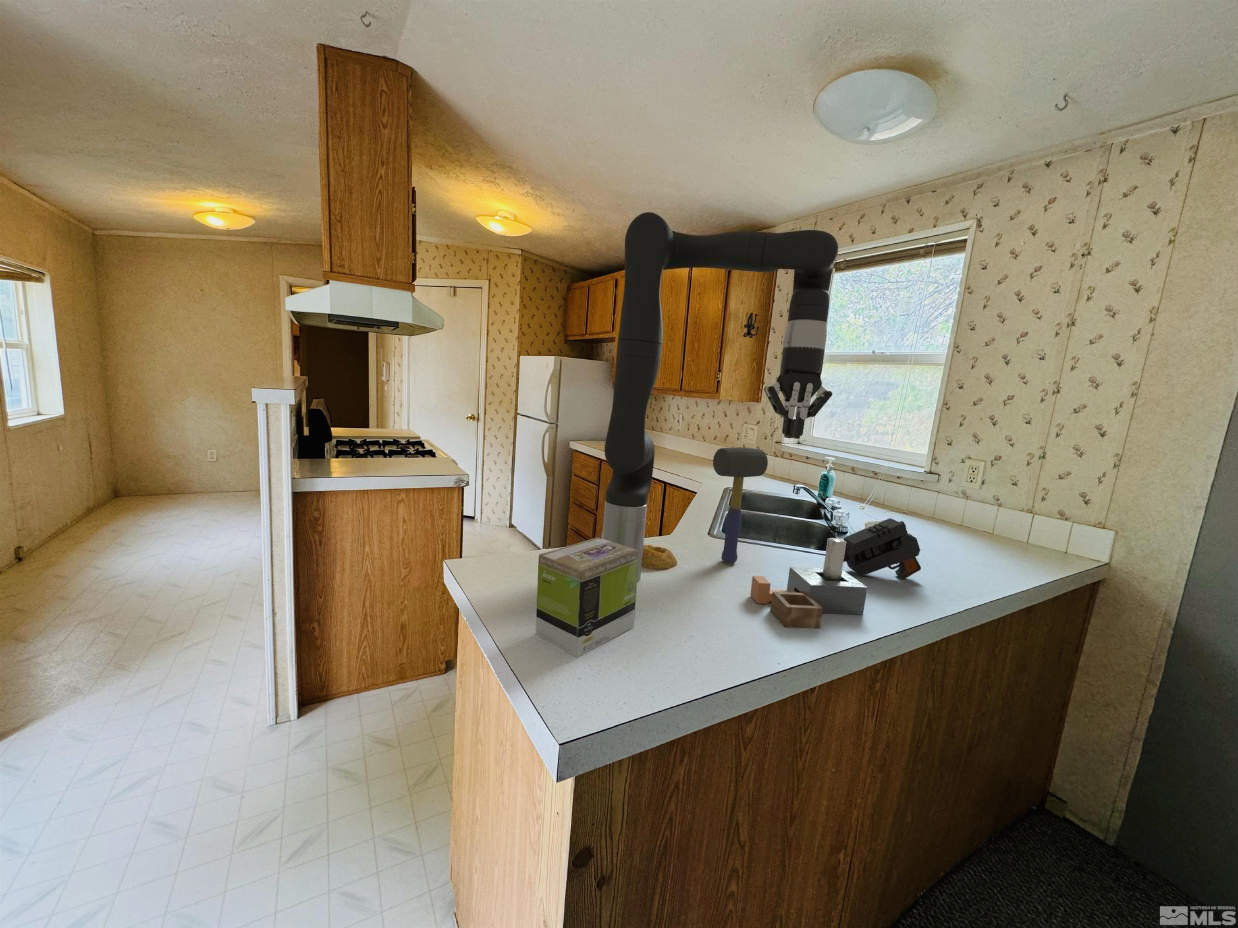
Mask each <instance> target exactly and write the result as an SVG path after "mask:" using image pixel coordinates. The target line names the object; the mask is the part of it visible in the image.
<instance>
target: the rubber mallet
mask: <svg viewBox="0 0 1238 928" xmlns="http://www.w3.org/2000/svg"><path fill="white" fill-rule="evenodd" d="M712 466H713V470H714V471H715V473H716V474H717V475H718V476H720V477H729V478H733V481H732V489H731V497H730V504H729V505H730V506H729V508H728V509H727V513H726V517H725V518H726V519H725V526H724V529H725V530H724V531H725V533H724V535H725V536H724V543H723V551H722V553H721V557H720V558H721V561H722V562H724V564H725V563H726V564H725V565H730V566H734V565H735V564H734V563H736V562H737V561H738V541H739V535H740V532H741V525H742V509H741V507H742V497H743V496H742V495H743V489H744V488H743V487H744V478H755V477H761V476H763V475H764V474H765V473H766V471H767V469H768V466H769V460H768V456H767V454H766V452H765V451H764V450H763V449H760V448H752V447H745V446H743V447H741V446H740V447H721V448H719V449H717V450H716V451H715V453H714V454H713V459H712ZM733 564H734V565H733Z"/></svg>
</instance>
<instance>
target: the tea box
mask: <svg viewBox="0 0 1238 928" xmlns="http://www.w3.org/2000/svg"><path fill="white" fill-rule="evenodd" d="M638 554H639V550H637V549H634V548H630V547H627V546H624V545H620V544H617V543H614V542H611V541H608V540H604V539H601V538H600V536H598V537H594V538H593V537H592V538H590V539H587V540H583V541H579V542H577V543H574V544H570V545H566V546H563V547H560V548H557V549H553V550H550V551H547V552H544V553H543V552H542V553H539V554H538V563H537V564H538V566H537V567H538V569H537V585H536V586H537V587H536V588H537V591H536V592H537V593H536V613H535V615H536V616H535V617H536V618H535V636H537V637H539V638H541V639H543V640H544V641H547V642H548V643H550V644H551V645H553V646H555V647H557V648H558V649H560V650H563V651H564V652H565V653H567V654H570V655H571V656H573V657H574V658H579V657H580V656H582V655H584V654H586V653H588V652H589V651H591V650H593V649H595V648H597V647H599V646H601V645H603V644H605V643H606V642H608V641H610V640H612V639H614V638H616V637H618V636H620V635H621V634H624V633H625V632H627V631H629V630H630V629H632V628H634V627H635V617H636V600H637V584H638V582H637V572H638Z"/></svg>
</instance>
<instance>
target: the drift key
mask: <svg viewBox="0 0 1238 928" xmlns="http://www.w3.org/2000/svg"><path fill="white" fill-rule="evenodd" d="M773 592H792V593H797V592H796V591H787V590H785V589H784V590H783V589H782V590H779V589H777V590H776V589H771V582H770V581H769V580H768V579H767V578H766V577H765V576H763V575H752V578H751V587H750V594H749V595H750V597H751V598H752V600H753V601H754V602H755V603H756V604H765V605H766V604H767V605H768V604H769V603H771V600H772V593H773Z"/></svg>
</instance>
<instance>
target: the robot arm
mask: <svg viewBox="0 0 1238 928" xmlns="http://www.w3.org/2000/svg"><path fill="white" fill-rule="evenodd" d="M624 236H625V238H624V288H623V296H622V303H621V310H620V311H621V312H620V321H619V329H618V334H617V335H618V336H617V343H616V354H615V371H614V380H613V395H612V406H611V407H612V408H611V413H610V419H609V423H608V427H607V432H606V438H605V441H604V442H605V443H604V458H605V461H606V463H607V465H608V466H609V467H610V469H611V470H612V473H611V478H610V481H609V484H608V485H607V487H606V489H605V498H604V513H603V522H602V523H603V524H602V525H603V526H602V530H601V539H604V540H608V541H611V542H614V543H617V544H620V545H624V546H627V547H630V548H634V549H637V550H639V554H638V572H637V583H638V582H640V580H641V576H642V568H643V566H642V556H643V545H645V544H644V543H645V542H644V541H645V533H646V532H645V531H646V521H647V520H646V519H647V509H648V500H649V499H648V498H649V494H650V491H651V488H652V482H653V473H654V464H655V455H656V454H655V453H656V451H655V444H654V443H655V442H654V441H653V439H652V437H651V436H650V434H649V433H647V432H646V419H647V418H646V417H647V410H648V409H647V408H648V406H649V405H648V404H649V400H650V397H651V395H652V392H653V390H654V387H655V384H656V381H657V379H658V375H659V371H660V365H661V361H662V350H663V341H664V329H663V327H664V325H663V314H662V304H661V303H662V302H661V284H662V282H661V281H662V277H663V271H668V270H677V269H678V270H679V269H697V268H698V269H702V268H703V269H720V270H721V269H722V270H733V271H740V272H742V271H743V272H754V273H775V272H776V271H778V270H793V284H792V294H791V298H790V302H789V307H788V316H787V323H786V327H785V331H784V337H783V341H782V353H781V360H780V369H779V371H780V373H779V375H778V377H777V378H776V382H774V383H772V384H771V385H766V386H764V388H763V391H764V393H765V395H766V397H767V399H768V401H769V402H770V403H769V404H770V405H771V407H772V409H773V411H774V413H775V415H780V416H781V417H782V418H783V423H782V430H781V433H782V435H783V437H784V438H785V439H798V440H799V439H800V438H801V437H802V436H803V434H804V428H805V423H806V422H805V421H806V419H809V418H814V417H816V416H817V415H818V413H819V412H820V411H821V409H822V408H823V407H824V406H825V405H826V403H827V402H828V401H829V400H830V399H831V398H832V396H833V392H832V391H831V390H827V389H826V388H825V387H824V386H823V381H822V378H821V375H822V373H823V372H822V371H823V366H824V358H825V351H826V344H827V335H828V328H827V327H828V318H829V312H830V304H831V302H830V301H831V299H830V294H829V292H830V287H831V280H832V274H833V269H834V265H835V261H836V259H837V257H838V255H839V254H838V253H839V244H838V241H837V239H836V238H835V236H834V235H832V234H831V233H830V232H826V231H825V230H819V229H802V230H793V231H785V232H770V231H768V232H767V231H753V230H737V231H736V230H735V231H726V232H721V233H716V234H715V233H714V234H707V235H706V234H703V235H702V234H700V235H698V234H697V235H696V234H689V233H688V234H687V233H682V232H679V231H674V230H672V229H671V227H670V225H669V224H668V222H667V221H666V220H665V219H664V218H663V217H662V216H660V215H659V214H657V213H655V212H652V211H651V212H650V211H648V212H647V211H646V212H643V213H640V214H639V215H637V216H635V217H634V219H632V221H630V223H629V225H628V228H627V229H626V233H625V235H624ZM780 392H781V394H782V396H783V401H782V400H781V398H780V396H779V394H780ZM814 396H815V397H816V398H815V399H814V400H813V401H812V402H811V399H812V398H813V397H814ZM794 417H795V418H794Z"/></svg>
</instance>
